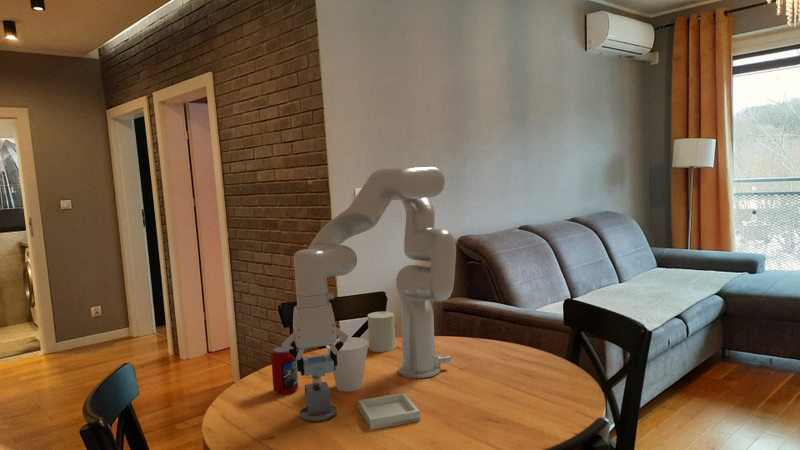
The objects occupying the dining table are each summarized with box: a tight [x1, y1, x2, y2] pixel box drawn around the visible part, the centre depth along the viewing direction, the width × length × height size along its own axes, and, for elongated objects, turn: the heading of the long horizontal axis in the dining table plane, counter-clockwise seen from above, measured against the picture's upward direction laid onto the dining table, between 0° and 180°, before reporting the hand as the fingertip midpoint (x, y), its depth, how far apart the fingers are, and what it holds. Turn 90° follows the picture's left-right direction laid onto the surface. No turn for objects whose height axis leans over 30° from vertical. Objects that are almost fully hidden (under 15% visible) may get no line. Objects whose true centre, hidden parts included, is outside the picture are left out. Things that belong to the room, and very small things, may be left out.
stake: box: [299, 375, 338, 424], centre depth 136 cm, size 9×9×10 cm
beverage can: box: [271, 345, 299, 396], centre depth 152 cm, size 7×7×12 cm
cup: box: [325, 337, 369, 393], centre depth 153 cm, size 12×12×12 cm
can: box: [367, 311, 397, 353], centre depth 188 cm, size 9×9×12 cm
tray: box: [358, 392, 421, 430], centre depth 134 cm, size 12×12×2 cm
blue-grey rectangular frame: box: [302, 352, 334, 377], centre depth 135 cm, size 7×9×2 cm
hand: (317, 370), depth 136 cm, fingers closed on blue-grey rectangular frame, 7 cm apart
